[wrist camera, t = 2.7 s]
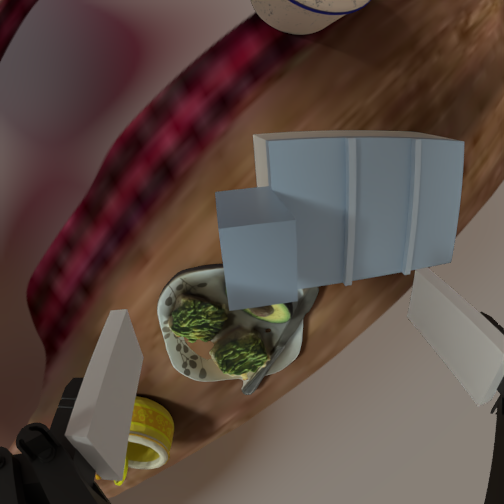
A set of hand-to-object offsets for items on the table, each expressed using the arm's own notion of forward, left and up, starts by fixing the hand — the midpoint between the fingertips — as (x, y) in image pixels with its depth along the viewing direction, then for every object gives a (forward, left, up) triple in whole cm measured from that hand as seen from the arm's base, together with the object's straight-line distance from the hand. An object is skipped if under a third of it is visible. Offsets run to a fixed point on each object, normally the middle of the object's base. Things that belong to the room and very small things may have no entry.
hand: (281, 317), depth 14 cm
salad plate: (+14, -2, -20) cm, 25 cm away
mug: (+30, -19, -20) cm, 41 cm away
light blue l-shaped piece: (0, +9, -13) cm, 16 cm away
